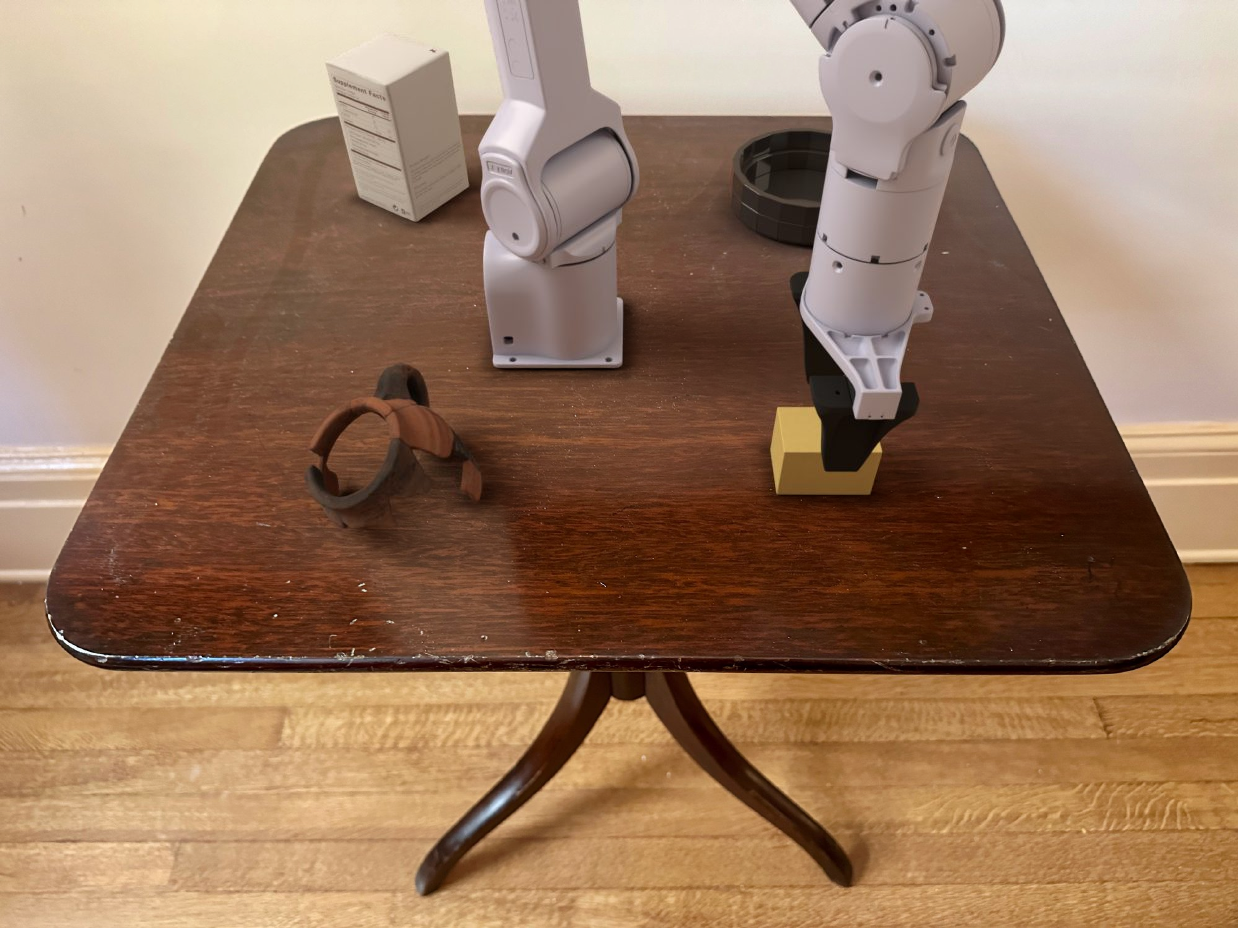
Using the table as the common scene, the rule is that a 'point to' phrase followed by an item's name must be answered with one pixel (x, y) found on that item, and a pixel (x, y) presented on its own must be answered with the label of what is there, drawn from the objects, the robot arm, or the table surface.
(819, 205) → the pan
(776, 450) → the yellow box
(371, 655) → the table surface
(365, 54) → the white packaging box
